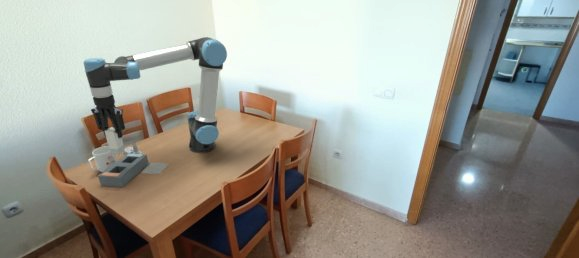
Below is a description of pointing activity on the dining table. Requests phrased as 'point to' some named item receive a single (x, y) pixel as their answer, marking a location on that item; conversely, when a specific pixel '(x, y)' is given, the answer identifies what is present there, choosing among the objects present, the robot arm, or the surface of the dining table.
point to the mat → (154, 168)
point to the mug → (102, 158)
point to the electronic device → (132, 149)
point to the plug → (113, 142)
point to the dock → (123, 170)
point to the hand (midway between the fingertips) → (115, 143)
